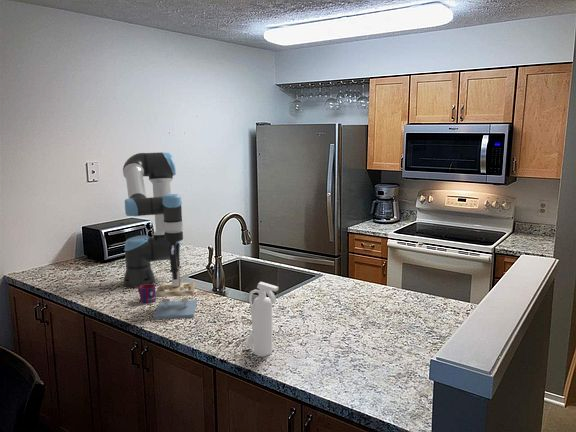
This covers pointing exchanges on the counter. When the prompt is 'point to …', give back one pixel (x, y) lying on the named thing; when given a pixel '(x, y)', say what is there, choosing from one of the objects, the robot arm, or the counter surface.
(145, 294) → the red patterned cup
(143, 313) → the counter surface
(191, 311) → the board
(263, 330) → the fire extinguisher
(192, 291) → the peg stand base
